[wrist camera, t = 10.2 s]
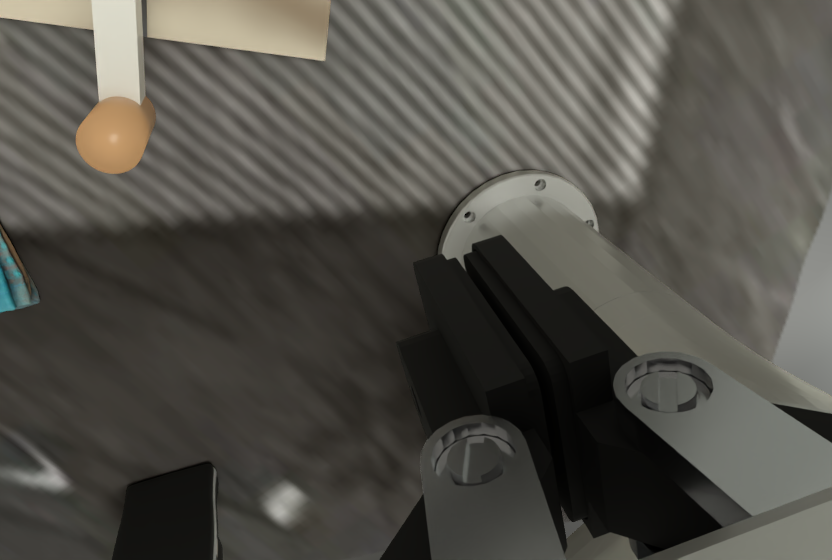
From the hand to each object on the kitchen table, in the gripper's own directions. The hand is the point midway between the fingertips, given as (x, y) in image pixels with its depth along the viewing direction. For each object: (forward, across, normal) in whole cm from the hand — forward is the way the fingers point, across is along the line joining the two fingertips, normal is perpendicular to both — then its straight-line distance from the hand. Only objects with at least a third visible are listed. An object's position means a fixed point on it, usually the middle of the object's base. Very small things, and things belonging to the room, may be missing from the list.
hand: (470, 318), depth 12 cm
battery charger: (+32, +20, +28) cm, 47 cm away
